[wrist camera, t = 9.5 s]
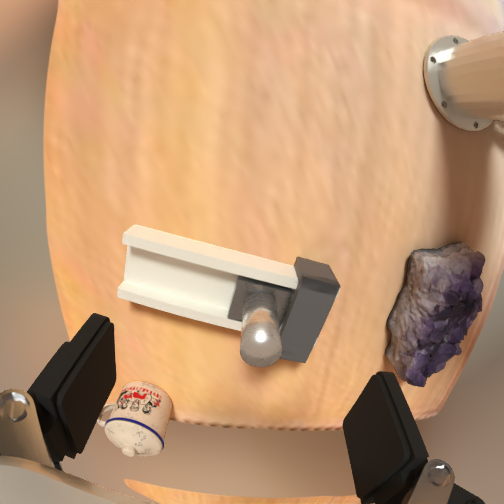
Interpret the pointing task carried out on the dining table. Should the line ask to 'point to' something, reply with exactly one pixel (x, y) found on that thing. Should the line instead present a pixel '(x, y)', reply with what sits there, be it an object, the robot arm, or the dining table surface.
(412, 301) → the geode
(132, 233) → the track
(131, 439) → the teacup with lid
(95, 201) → the dining table surface
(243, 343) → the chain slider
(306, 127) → the dining table surface
